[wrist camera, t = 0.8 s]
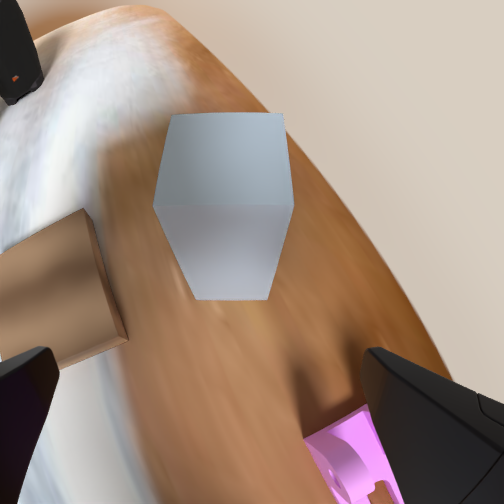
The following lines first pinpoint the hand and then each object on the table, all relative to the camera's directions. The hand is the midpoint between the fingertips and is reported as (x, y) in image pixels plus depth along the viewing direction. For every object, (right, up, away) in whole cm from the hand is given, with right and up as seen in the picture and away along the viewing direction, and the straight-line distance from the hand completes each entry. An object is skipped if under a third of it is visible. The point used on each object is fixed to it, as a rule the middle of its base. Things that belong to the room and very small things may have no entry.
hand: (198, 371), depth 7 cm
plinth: (-15, -1, +13) cm, 20 cm away
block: (0, +2, +15) cm, 15 cm away
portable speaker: (-36, +29, +26) cm, 53 cm away
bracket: (+10, -14, +8) cm, 19 cm away
